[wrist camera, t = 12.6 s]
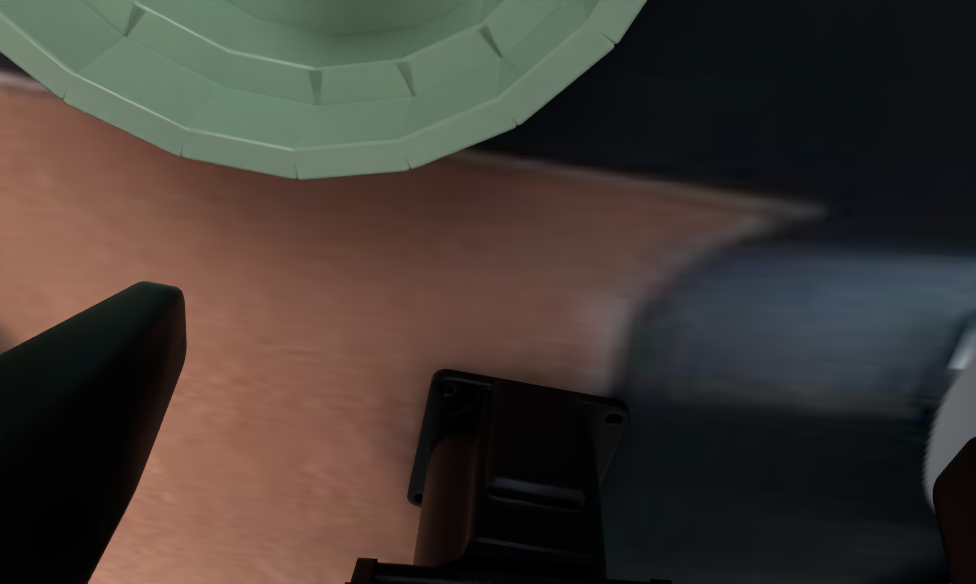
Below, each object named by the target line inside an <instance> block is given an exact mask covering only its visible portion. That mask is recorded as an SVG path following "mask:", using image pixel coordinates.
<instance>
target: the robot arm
mask: <svg viewBox="0 0 976 584" xmlns="http://www.w3.org/2000/svg"><path fill="white" fill-rule="evenodd" d="M186 349H187V341H186V319H185V300H184V296H183V293H182V291H181V290H180V289H179V288H178V287H175V286H169V285H164V284H158V283H153V282H144V281H143V282H139V283H136V284H134V285H132V286H130V287H128V288H127V289H125V290H123V291H121V292H119V293H117V294H115V295H113V296H111V297H109V298H107V299H106V300H104V301H102V302H100V303H98V304H96V305H94V306H92V307H90V308H88V309H86V310H85V311H83V312H81V313H79V314H77V315H75V316H73V317H71V318H69V319H67V320H65V321H64V322H62V323H60V324H58V325H56V326H54V327H52V328H50V329H48V330H46V331H44V332H42V333H41V334H39V335H37V336H35V337H33V338H31V339H29V340H27V341H25V342H23V343H21V344H20V345H18V346H16V347H14V348H12V349H10V350H8V351H6V352H4V353H2V354H0V584H88V582H89V580H90V578H91V576H92V574H93V572H94V570H95V568H96V566H97V564H98V563H99V561H100V559H101V557H102V555H103V553H104V551H105V549H106V547H107V545H108V543H109V542H110V540H111V538H112V536H113V534H114V532H115V530H116V528H117V526H118V524H119V522H120V521H121V519H122V517H123V515H124V513H125V511H126V509H127V507H128V505H129V503H130V501H131V499H132V497H133V495H134V493H135V490H136V488H137V486H138V483H139V481H140V478H141V476H142V473H143V471H144V468H145V466H146V463H147V460H148V458H149V455H150V452H151V450H152V447H153V445H154V442H155V439H156V437H157V434H158V431H159V429H160V426H161V423H162V421H163V418H164V416H165V413H166V410H167V408H168V405H169V402H170V400H171V397H172V394H173V392H174V389H175V386H176V384H177V381H178V379H179V376H180V373H181V371H182V368H183V365H184V361H185V356H186ZM447 383H448V384H450V385H452V386H444V385H442V384H447ZM610 414H617V415H615V416H610ZM628 422H629V412H628V407H627V405H626V404H625V403H624V402H623V401H620V400H617V399H612V398H606V397H600V396H595V395H589V394H584V393H578V392H573V391H567V390H562V389H556V388H550V387H545V386H539V385H534V384H528V383H523V382H517V381H511V380H506V379H500V378H495V377H489V376H484V375H478V374H473V373H467V372H461V371H456V370H450V369H443V370H439V371H437V372H436V373H435V374H434V375H433V377H432V381H431V385H430V390H429V395H428V399H427V404H426V409H425V413H424V418H423V423H422V427H421V432H420V437H419V441H418V446H417V451H416V455H415V460H414V465H413V469H412V474H411V479H410V483H409V488H408V495H407V498H408V500H409V502H410V503H411V504H413V505H415V506H419V507H421V514H420V521H419V528H418V535H417V542H416V549H415V556H414V563H413V565H408V564H394V563H380V562H378V559H371V558H358V559H357V562H356V566H355V569H354V572H353V575H352V579H351V582H345V584H672V582H671V580H658V579H651V580H650V582H640V581H626V580H613V579H607V570H606V559H605V548H604V537H603V525H602V514H601V503H600V492H599V487H600V485H601V483H602V481H603V478H604V476H605V474H606V472H607V469H608V467H609V465H610V463H611V460H612V458H613V456H614V454H615V451H616V449H617V447H618V445H619V442H620V440H621V438H622V436H623V433H624V431H625V429H626V427H627V424H628ZM421 493H422V494H421ZM933 503H934V507H935V512H936V516H937V521H938V526H939V530H940V535H941V539H942V544H943V548H944V553H945V558H946V562H947V567H948V571H949V576H950V581H951V584H976V437H974V438H972V439H970V440H969V441H968V442H967V443H966V444H965V445H964V447H963V448H962V449H961V450H960V451H959V453H958V454H957V455H956V456H955V457H954V458H953V460H952V461H951V462H950V463H949V464H948V466H947V467H946V468H945V469H944V470H943V471H942V473H941V474H940V475H939V476H938V478H937V479H936V481H935V484H934V487H933Z"/></svg>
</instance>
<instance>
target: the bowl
mask: <svg viewBox="0 0 976 584" xmlns="http://www.w3.org/2000/svg"><path fill="white" fill-rule="evenodd" d="M646 2H647V0H0V52H1V53H2V54H4V55H5V56H6V57H8V58H9V59H10V60H11V61H13V62H14V63H15V64H16V65H18V66H19V67H20V68H21V69H23V70H24V71H25V72H27V73H28V74H29V75H30V76H32V77H33V78H34V79H35V80H37V81H38V82H39V83H40V84H42V85H43V86H44V87H46V88H47V89H48V90H49V91H51V92H52V93H53V94H54V95H56V96H57V97H58V98H60V99H64V102H65V103H66V104H69V105H71V106H73V107H75V108H77V109H79V110H81V111H83V112H85V113H87V114H90V115H92V116H94V117H96V118H98V119H100V120H102V121H104V122H106V123H108V124H111V125H113V126H115V127H117V128H119V129H121V130H123V131H125V132H127V133H129V134H132V135H134V136H136V137H138V138H140V139H142V140H144V141H146V142H148V143H150V144H153V145H155V146H157V147H159V148H161V149H163V150H165V151H167V152H169V153H171V154H174V155H176V156H178V157H181V156H183V157H184V158H187V159H192V160H197V161H202V162H207V163H212V164H218V165H223V166H228V167H233V168H238V169H243V170H248V171H253V172H258V173H263V174H268V175H273V176H278V177H284V178H289V179H297V178H298V179H299V180H307V179H319V178H331V177H343V176H354V175H366V174H378V173H390V172H402V171H408V170H410V168H411V169H415V168H418V167H420V166H423V165H425V164H428V163H430V162H433V161H435V160H438V159H440V158H443V157H445V156H448V155H450V154H453V153H455V152H457V151H460V150H462V149H465V148H467V147H470V146H472V145H475V144H477V143H480V142H482V141H485V140H487V139H490V138H492V137H495V136H497V135H499V134H502V133H504V132H507V131H509V130H512V129H514V128H515V127H516V126H517V125H521V124H522V123H524V122H525V121H526V120H527V119H528V118H530V117H531V116H532V115H533V114H535V113H536V112H537V111H538V110H539V109H541V108H542V107H543V106H544V105H546V104H547V103H548V102H549V101H550V100H552V99H553V98H554V97H555V96H556V95H558V94H559V93H560V92H561V91H563V90H564V89H565V88H566V87H567V86H569V85H570V84H571V83H572V82H573V81H575V80H576V79H577V78H578V77H580V76H581V75H582V74H583V73H584V72H586V71H587V70H588V69H589V68H590V67H592V66H593V65H594V64H595V63H597V62H598V61H599V60H600V59H601V58H603V57H604V56H605V55H606V54H607V53H609V52H610V51H611V50H612V49H613V48H614V46H615V45H614V44H617V43H618V42H620V40H621V39H622V37H623V36H624V34H625V33H626V31H627V30H628V28H629V27H630V25H631V24H632V23H633V21H634V20H635V18H636V17H637V15H638V14H639V12H640V11H641V9H642V8H643V6H644V5H645V3H646Z"/></svg>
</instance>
